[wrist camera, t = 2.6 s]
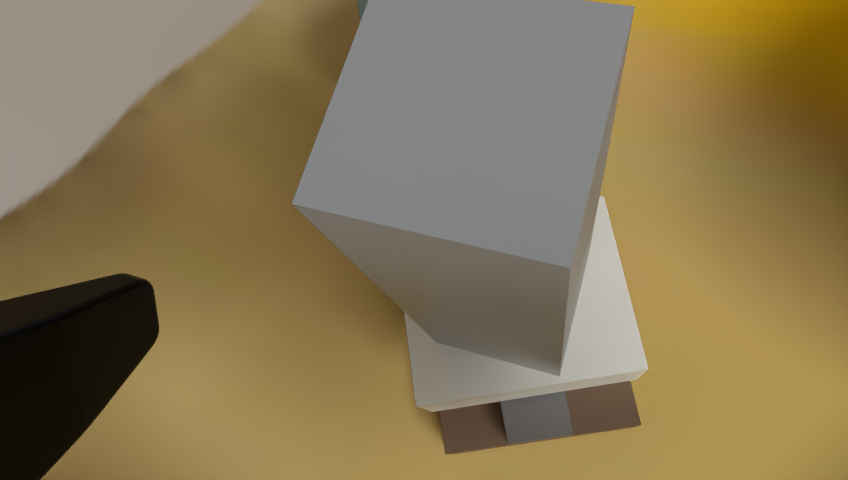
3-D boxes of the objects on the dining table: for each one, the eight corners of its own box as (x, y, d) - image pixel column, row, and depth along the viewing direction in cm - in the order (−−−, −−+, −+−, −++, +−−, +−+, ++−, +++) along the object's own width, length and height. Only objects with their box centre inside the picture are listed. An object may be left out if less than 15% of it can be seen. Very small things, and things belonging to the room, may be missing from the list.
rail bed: (633, 427, 17) (674, 414, 11) (453, 453, 18) (407, 454, 12) (544, 60, 21) (542, -84, 15) (401, 93, 22) (348, -33, 16)
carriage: (636, 379, 15) (792, 244, 5) (432, 412, 16) (236, 343, 6) (597, 225, 16) (665, -109, 7) (411, 261, 17) (225, 5, 7)
